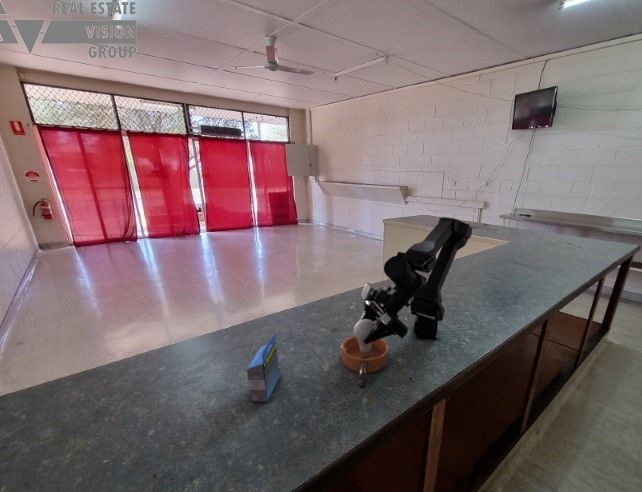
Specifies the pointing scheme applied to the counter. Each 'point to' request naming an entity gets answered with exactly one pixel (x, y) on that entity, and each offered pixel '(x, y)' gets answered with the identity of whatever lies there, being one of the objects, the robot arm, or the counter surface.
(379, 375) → the counter surface
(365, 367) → the handle
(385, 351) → the orange round dish
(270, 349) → the blue cardboard box
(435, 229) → the robot arm
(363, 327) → the lightbulb
